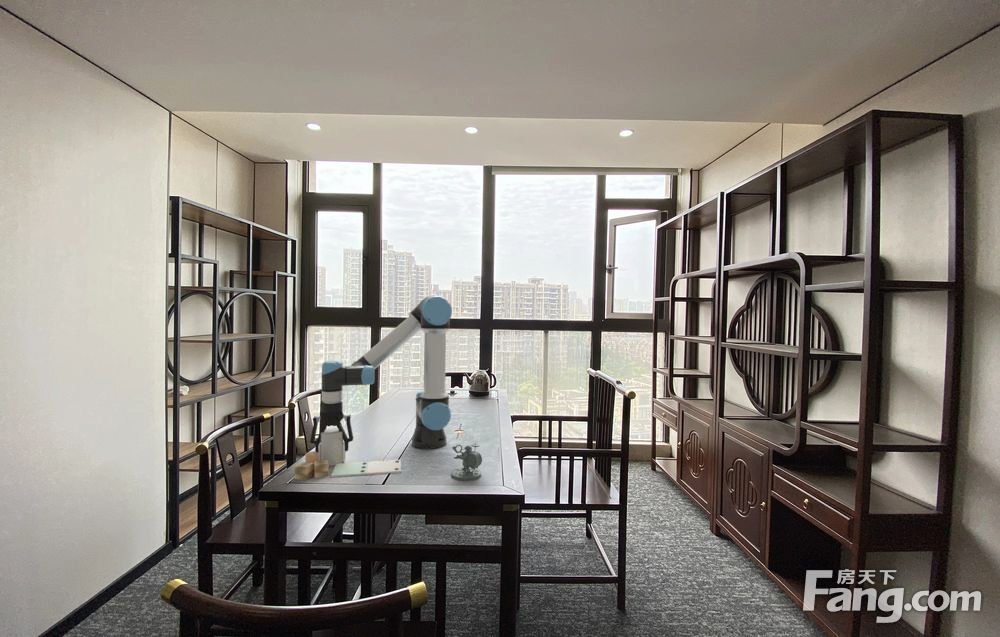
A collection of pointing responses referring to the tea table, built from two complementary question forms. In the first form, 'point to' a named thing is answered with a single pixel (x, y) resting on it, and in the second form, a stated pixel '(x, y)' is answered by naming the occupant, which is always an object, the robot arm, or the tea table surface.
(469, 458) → the figurine
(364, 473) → the pad three
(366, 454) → the tea table surface
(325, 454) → the cup
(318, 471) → the oak block
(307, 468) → the oak block
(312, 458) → the terracotta cylinder
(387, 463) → the pad two
